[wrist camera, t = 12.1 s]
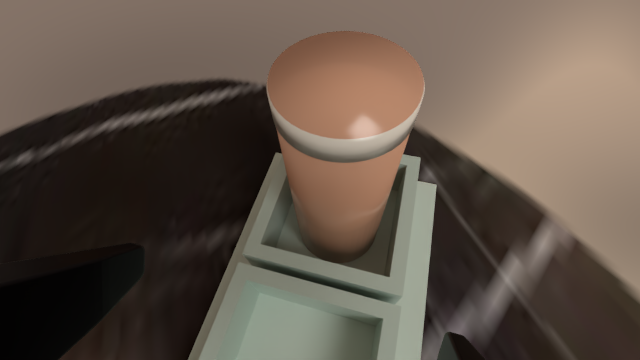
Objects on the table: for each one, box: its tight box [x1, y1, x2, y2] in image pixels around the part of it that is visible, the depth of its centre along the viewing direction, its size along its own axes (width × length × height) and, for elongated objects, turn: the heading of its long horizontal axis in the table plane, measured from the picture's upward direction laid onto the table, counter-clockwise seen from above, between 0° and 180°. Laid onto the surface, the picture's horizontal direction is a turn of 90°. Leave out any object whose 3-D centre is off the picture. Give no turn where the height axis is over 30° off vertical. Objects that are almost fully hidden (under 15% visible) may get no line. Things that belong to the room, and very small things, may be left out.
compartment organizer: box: [188, 153, 436, 360], centre depth 18 cm, size 20×13×4 cm, turn 165°
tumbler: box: [266, 31, 425, 263], centre depth 16 cm, size 6×6×13 cm
